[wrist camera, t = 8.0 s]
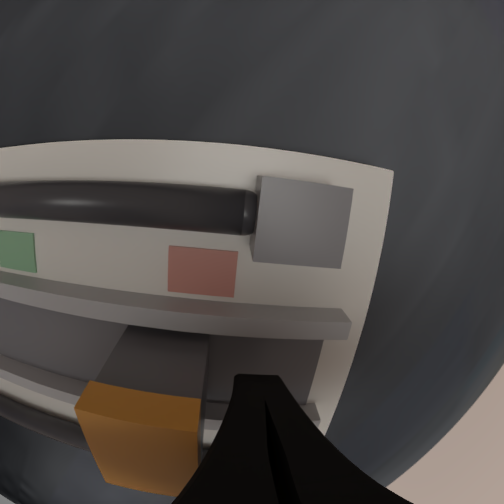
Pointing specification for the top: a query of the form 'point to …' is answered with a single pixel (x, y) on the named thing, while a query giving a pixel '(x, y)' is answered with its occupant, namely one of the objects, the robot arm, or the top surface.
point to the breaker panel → (182, 267)
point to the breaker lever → (148, 410)
